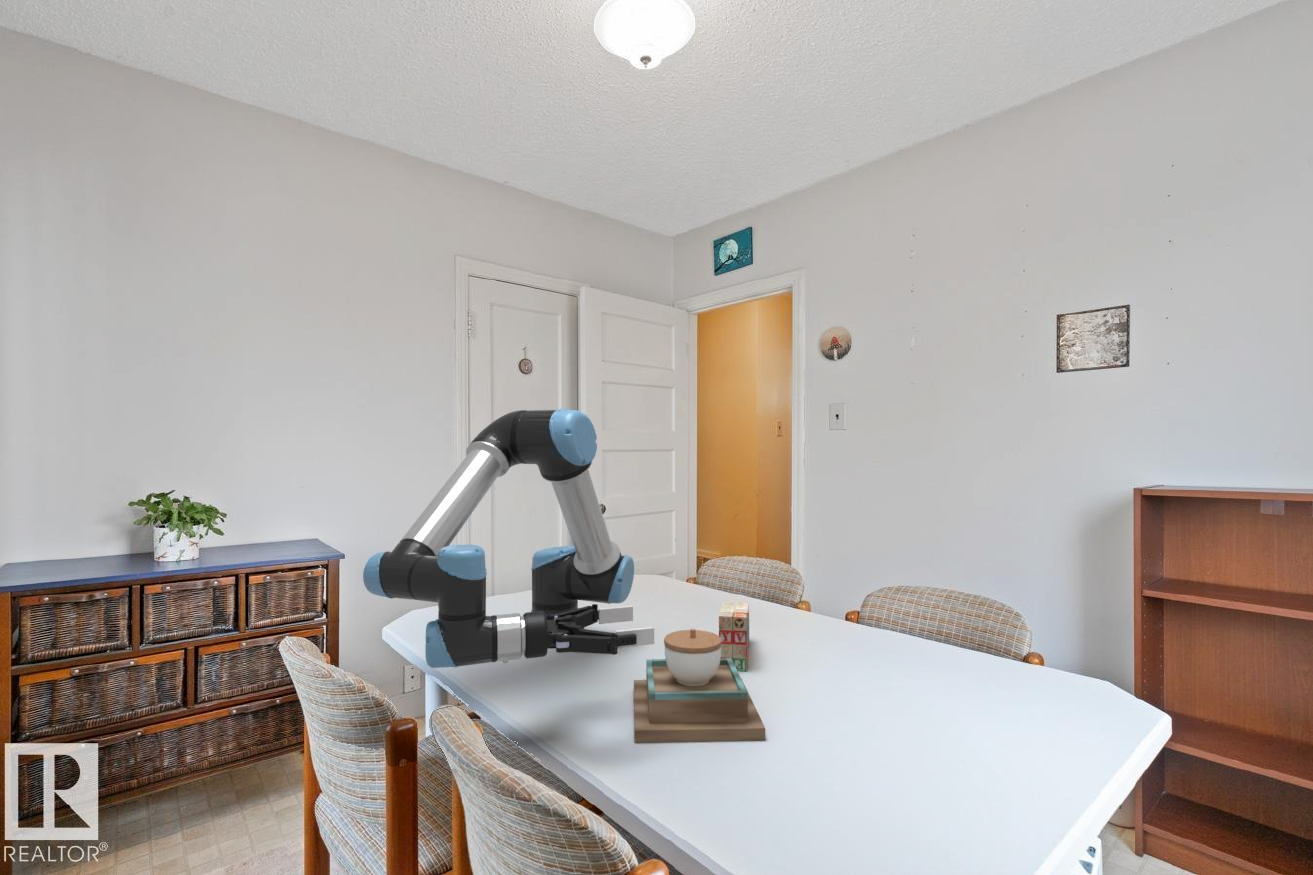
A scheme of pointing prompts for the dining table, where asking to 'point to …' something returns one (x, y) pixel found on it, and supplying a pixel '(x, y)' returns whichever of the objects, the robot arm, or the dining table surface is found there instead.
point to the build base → (692, 728)
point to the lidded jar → (692, 656)
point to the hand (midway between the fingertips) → (642, 623)
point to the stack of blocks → (735, 633)
